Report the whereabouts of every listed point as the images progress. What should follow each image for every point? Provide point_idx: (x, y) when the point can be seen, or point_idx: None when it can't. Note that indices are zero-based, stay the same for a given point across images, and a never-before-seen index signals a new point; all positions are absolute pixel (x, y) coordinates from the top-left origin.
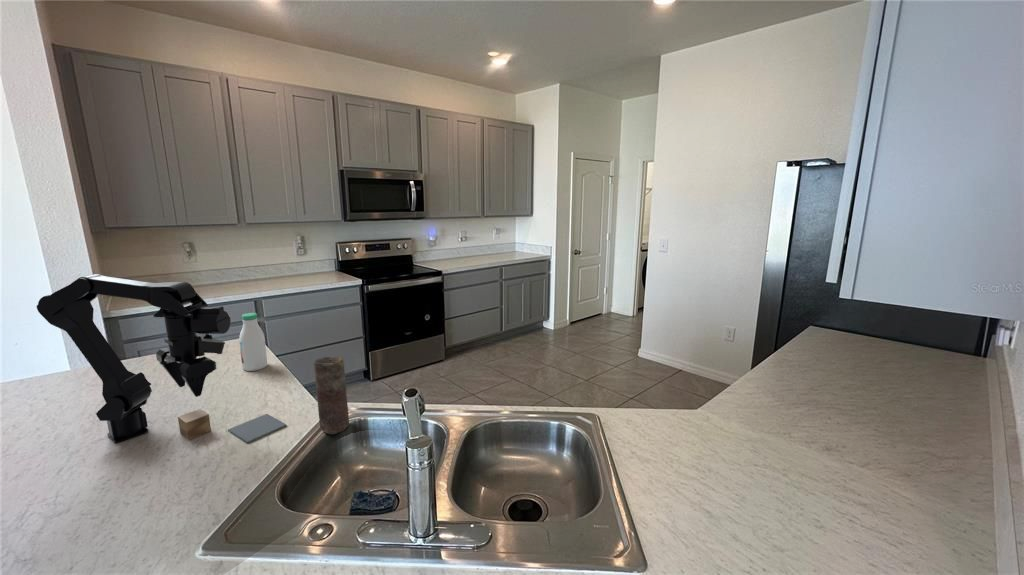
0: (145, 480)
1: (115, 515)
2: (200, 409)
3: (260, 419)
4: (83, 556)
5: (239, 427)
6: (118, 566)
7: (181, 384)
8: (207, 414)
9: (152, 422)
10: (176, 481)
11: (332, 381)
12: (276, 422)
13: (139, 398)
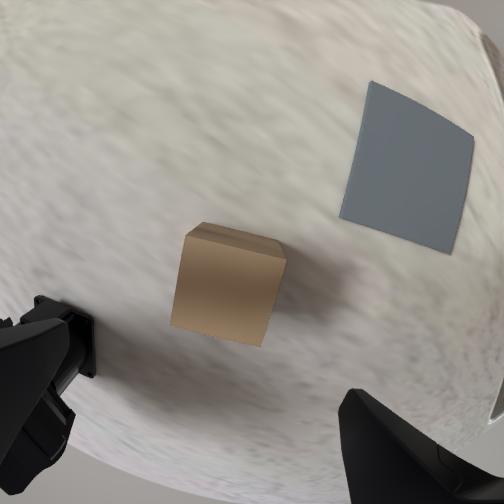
0: (328, 431)
1: None
2: (194, 239)
3: (389, 123)
4: None
5: (368, 192)
6: None
7: (57, 347)
8: (281, 262)
9: (47, 272)
10: (392, 407)
11: None
12: (445, 130)
13: (37, 411)
